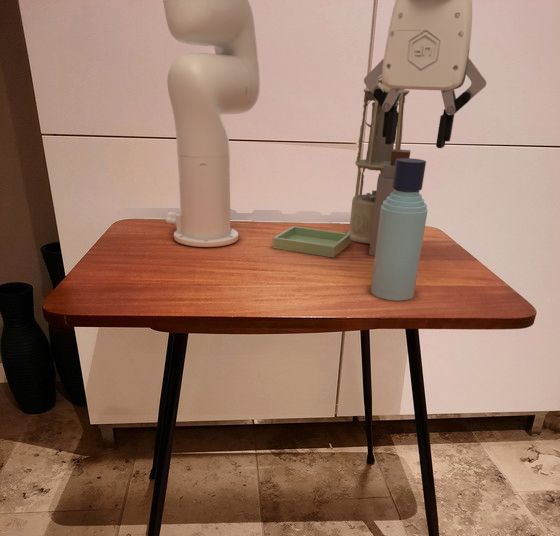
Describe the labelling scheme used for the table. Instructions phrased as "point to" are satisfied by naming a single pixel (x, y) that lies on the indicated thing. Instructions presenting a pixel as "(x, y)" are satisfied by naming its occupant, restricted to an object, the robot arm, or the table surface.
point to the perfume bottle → (384, 192)
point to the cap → (408, 174)
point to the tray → (312, 241)
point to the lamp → (372, 164)
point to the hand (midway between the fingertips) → (414, 144)
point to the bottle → (399, 245)
